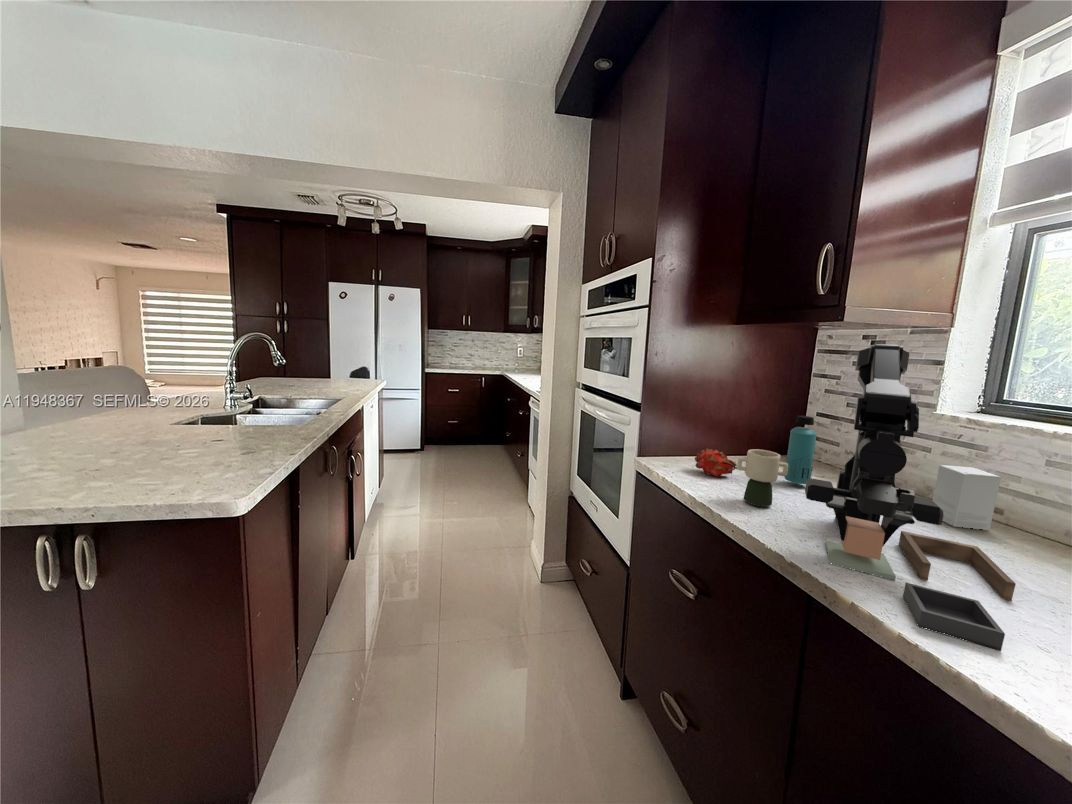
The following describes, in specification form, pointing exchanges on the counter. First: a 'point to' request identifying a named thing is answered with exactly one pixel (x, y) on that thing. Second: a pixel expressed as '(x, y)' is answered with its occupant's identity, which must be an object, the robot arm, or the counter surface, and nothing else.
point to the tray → (953, 616)
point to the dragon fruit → (714, 463)
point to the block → (863, 538)
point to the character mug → (761, 475)
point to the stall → (974, 555)
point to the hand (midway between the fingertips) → (860, 543)
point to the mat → (858, 561)
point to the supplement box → (966, 496)
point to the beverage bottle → (801, 451)
